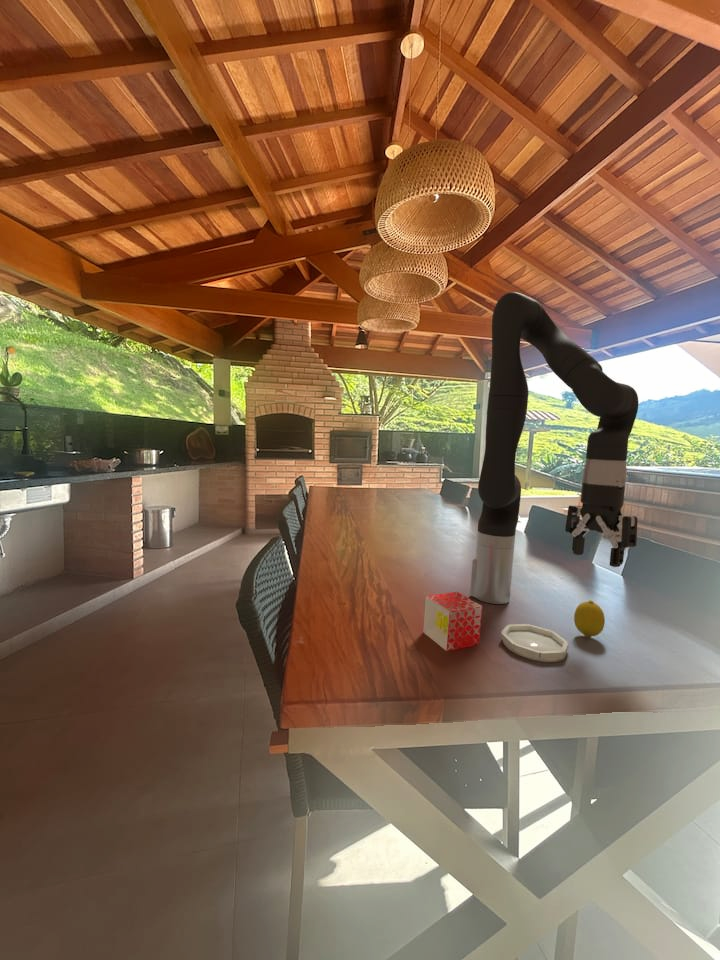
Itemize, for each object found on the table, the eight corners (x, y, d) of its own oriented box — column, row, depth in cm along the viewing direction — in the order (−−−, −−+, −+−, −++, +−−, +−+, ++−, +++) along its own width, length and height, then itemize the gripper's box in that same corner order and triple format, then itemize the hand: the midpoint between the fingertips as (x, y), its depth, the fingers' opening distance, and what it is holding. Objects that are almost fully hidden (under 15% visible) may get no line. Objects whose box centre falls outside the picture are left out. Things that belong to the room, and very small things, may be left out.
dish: (494, 647, 78) (495, 638, 78) (511, 627, 87) (512, 619, 87) (560, 669, 71) (561, 660, 71) (570, 645, 81) (571, 636, 80)
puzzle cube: (423, 632, 83) (425, 595, 82) (454, 627, 86) (456, 591, 86) (446, 651, 76) (449, 611, 75) (479, 644, 79) (482, 606, 78)
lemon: (602, 646, 80) (606, 608, 80) (571, 638, 83) (575, 601, 83) (602, 636, 85) (606, 600, 84) (573, 628, 88) (577, 593, 87)
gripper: (560, 478, 87) (554, 551, 88) (623, 486, 73) (614, 572, 75) (586, 479, 89) (579, 550, 91) (651, 486, 76) (642, 569, 77)
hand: (595, 560), depth 83 cm, fingers open, 8 cm apart
